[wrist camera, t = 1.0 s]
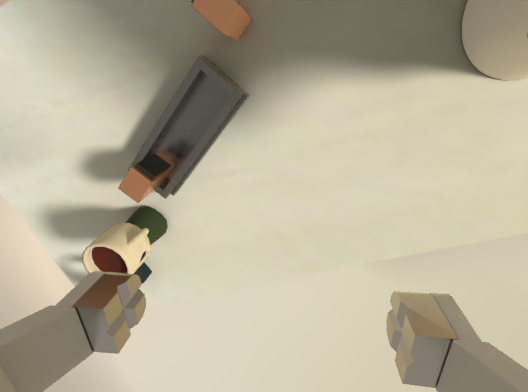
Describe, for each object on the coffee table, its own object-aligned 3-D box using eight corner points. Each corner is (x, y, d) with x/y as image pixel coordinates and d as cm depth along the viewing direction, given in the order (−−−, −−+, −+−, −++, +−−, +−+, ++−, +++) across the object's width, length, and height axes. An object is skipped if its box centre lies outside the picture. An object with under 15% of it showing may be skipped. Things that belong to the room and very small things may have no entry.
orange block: (252, 18, 36) (239, 4, 29) (237, 40, 38) (221, 32, 30) (223, -8, 36) (203, -29, 28) (209, 15, 37) (186, 1, 30)
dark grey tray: (204, 56, 39) (175, 51, 30) (249, 95, 40) (234, 102, 31) (137, 161, 46) (99, 182, 38) (177, 192, 48) (149, 218, 39)
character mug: (147, 249, 53) (102, 299, 42) (119, 221, 52) (64, 265, 40) (186, 219, 50) (149, 265, 38) (157, 189, 48) (109, 227, 36)
